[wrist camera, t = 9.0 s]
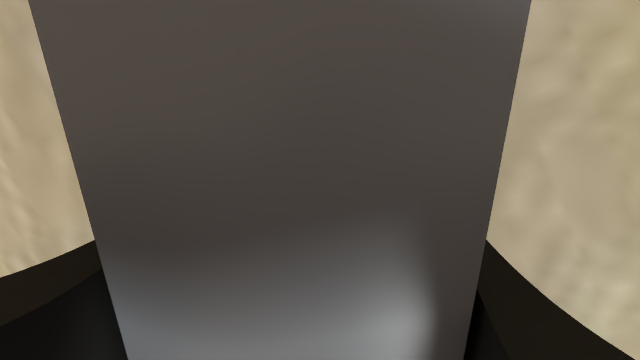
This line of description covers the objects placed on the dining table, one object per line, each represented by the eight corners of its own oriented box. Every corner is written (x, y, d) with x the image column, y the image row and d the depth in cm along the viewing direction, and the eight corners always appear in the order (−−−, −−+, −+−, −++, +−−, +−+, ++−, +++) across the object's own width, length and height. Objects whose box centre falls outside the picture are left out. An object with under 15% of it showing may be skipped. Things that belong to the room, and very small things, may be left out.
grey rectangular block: (458, -40, 10) (540, -47, 4) (411, 359, 15) (422, 572, 10) (206, -37, 11) (16, -41, 5) (247, 341, 16) (175, 529, 11)
